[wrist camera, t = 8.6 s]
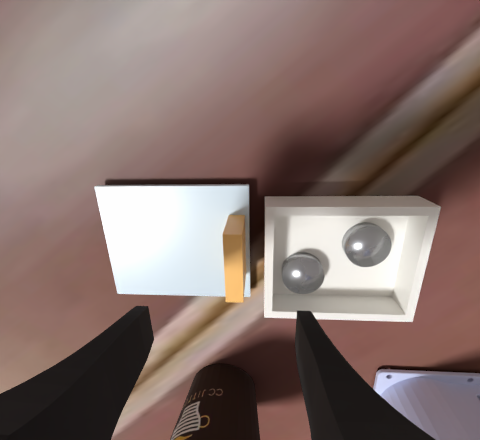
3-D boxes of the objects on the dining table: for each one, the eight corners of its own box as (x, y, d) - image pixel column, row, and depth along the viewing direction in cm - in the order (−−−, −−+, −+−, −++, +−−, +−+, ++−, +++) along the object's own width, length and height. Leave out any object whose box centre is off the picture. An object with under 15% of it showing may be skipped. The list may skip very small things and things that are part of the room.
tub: (418, 195, 19) (440, 206, 17) (396, 299, 23) (412, 321, 20) (264, 196, 20) (265, 207, 18) (263, 296, 23) (264, 317, 21)
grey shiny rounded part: (301, 244, 21) (303, 249, 20) (330, 269, 21) (333, 276, 20) (273, 269, 22) (273, 276, 21) (301, 293, 22) (302, 301, 22)
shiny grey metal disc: (392, 227, 20) (398, 232, 19) (376, 264, 21) (381, 271, 20) (349, 218, 20) (354, 222, 19) (336, 255, 21) (339, 262, 20)
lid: (249, 181, 20) (246, 199, 16) (250, 287, 24) (248, 328, 19) (104, 182, 21) (60, 200, 17) (124, 285, 24) (93, 323, 20)
